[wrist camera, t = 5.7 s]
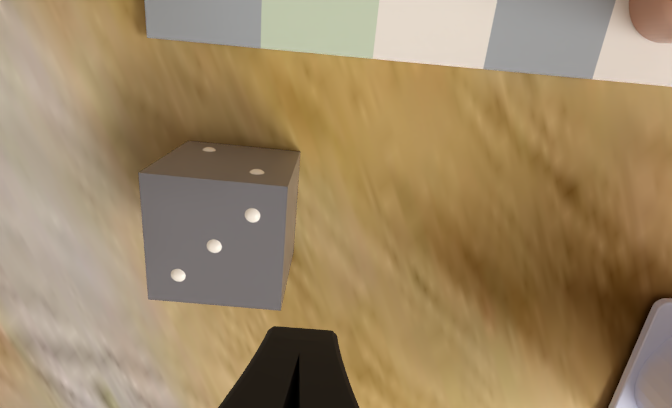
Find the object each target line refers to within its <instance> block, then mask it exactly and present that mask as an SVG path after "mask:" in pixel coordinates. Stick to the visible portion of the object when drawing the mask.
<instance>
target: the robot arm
mask: <svg viewBox="0 0 672 408" xmlns="http://www.w3.org/2000/svg"><path fill="white" fill-rule="evenodd" d="M218 408H359V406H358V403H357V401H356V398H355V396H354V393H353V391H352V388H351V385H350V383H349V380H348V377H347V374H346V371H345V367H344V364H343V361H342V357H341V354H340V349H339V345H338V339H337V335H336V334H335V333H334V332H333V331H329V330H316V329H302V328H289V327H276V326H274V327H272V328H271V329H269V330H268V332H267V334H266V336H265V338H264V340H263V341H262V343H261V345H260V347H259V348H258V350H257V352H256V354H255V355H254V357H253V358H252V360H251V361H250V363H249V365H248V366H247V368H246V369H245V371H244V372H243V374H242V375H241V377H240V378H239V379H238V381H237V382H236V384H235V385H234V386H233V388H232V389H231V391H230V392H229V393H228V395H227V396H226V398H225V399H224V400H223V402H222V403H221V405H220V406H219V407H218ZM608 408H672V298H662V299H660V300H657V301H656V302H655V303H654V304H653V306H652V308H651V310H650V312H649V315H648V317H647V319H646V322H645V324H644V326H643V328H642V331H641V333H640V335H639V338H638V340H637V342H636V345H635V347H634V349H633V352H632V354H631V356H630V359H629V361H628V363H627V366H626V368H625V370H624V372H623V375H622V377H621V379H620V382H619V384H618V386H617V389H616V391H615V393H614V396H613V398H612V400H611V403H610V405H609V407H608Z"/></svg>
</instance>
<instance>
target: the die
mask: <svg viewBox="0 0 672 408" xmlns="http://www.w3.org/2000/svg"><path fill="white" fill-rule="evenodd" d="M299 165H300V151H289V150H279V149H268V148H258V147H248V146H237V145H227V144H217V143H206V142H196V141H187V142H186V143H184V144H182V145H181V146H179V147H178V148H176V149H175V150H173V151H172V152H170V153H168V154H167V155H165V156H164V157H162V158H161V159H159V160H158V161H156V162H154V163H153V164H151V165H150V166H148V167H147V168H145V169H144V170H142V171H140V172H139V173H138V174H139V187H140V199H141V212H142V225H143V238H144V251H145V263H146V276H147V289H148V299H150V300H162V301H174V302H186V303H198V304H209V305H221V306H233V307H245V308H256V309H268V310H280V311H281V307H282V302H283V297H284V293H285V288H286V284H287V279H288V274H289V270H290V265H291V261H292V256H293V251H294V239H295V224H296V209H297V194H298V179H299Z"/></svg>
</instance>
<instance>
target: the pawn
mask: <svg viewBox="0 0 672 408" xmlns="http://www.w3.org/2000/svg"><path fill="white" fill-rule="evenodd" d="M629 14H630V18H631V21H632V23H633V26H634V27H635V29H636V30H637V31H638V33H639V34H640V35H642V36H643V37H644V38H646V39H648V40H650V41H653V42H656V43H672V0H629Z"/></svg>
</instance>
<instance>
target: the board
mask: <svg viewBox="0 0 672 408" xmlns="http://www.w3.org/2000/svg"><path fill="white" fill-rule="evenodd" d="M144 2H145V16H146V30H147V38H156V39H167V40H177V41H188V42H199V43H210V44H220V45H231V46H242V47H252V48H263V49H274V50H284V51H295V52H306V53H316V54H327V55H338V56H349V57H359V58H370V59H381V60H391V61H402V62H413V63H423V64H434V65H445V66H455V67H466V68H477V69H488V70H498V71H509V72H520V73H530V74H541V75H552V76H562V77H573V78H584V79H594V80H605V81H616V82H627V83H637V84H648V85H659V86H669V87H672V43H656V42H653V41H650V40H648V39H646V38H644V37H643V36H642V35H640V34H639V33H638V31H637V30H636V29H635V27H634V26H633V23H632V21H631V18H630V14H629V0H144Z"/></svg>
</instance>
